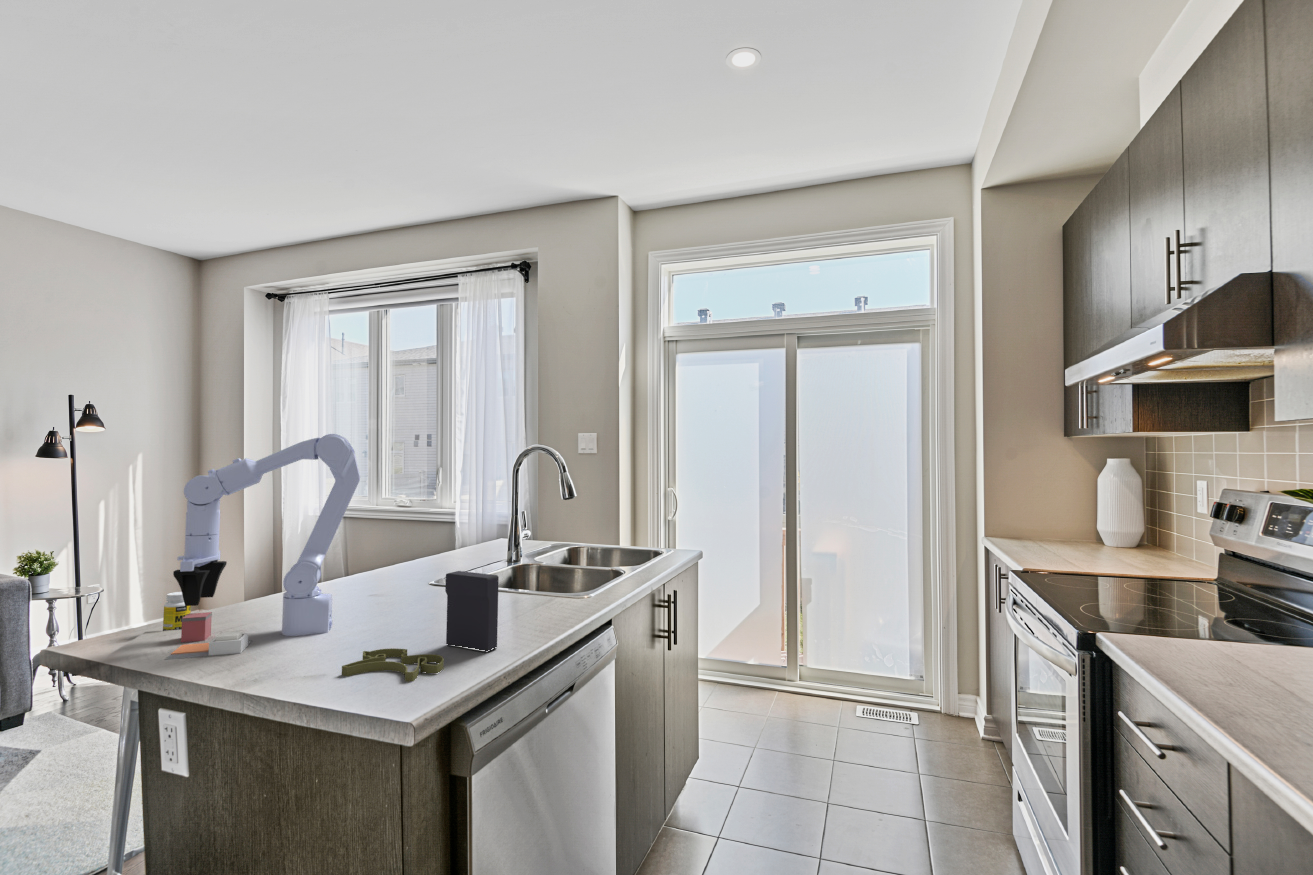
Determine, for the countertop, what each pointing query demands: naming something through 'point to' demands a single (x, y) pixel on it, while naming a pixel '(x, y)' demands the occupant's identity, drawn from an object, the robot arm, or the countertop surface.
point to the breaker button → (229, 635)
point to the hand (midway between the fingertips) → (199, 601)
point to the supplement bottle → (174, 611)
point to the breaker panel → (211, 648)
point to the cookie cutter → (394, 663)
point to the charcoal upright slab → (472, 610)
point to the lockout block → (196, 627)
